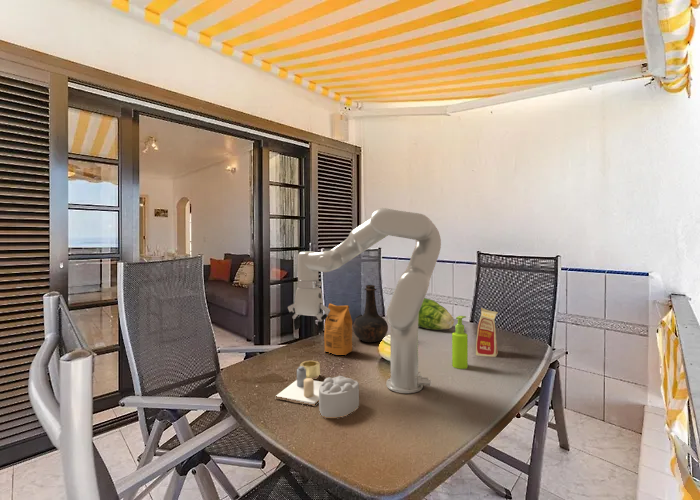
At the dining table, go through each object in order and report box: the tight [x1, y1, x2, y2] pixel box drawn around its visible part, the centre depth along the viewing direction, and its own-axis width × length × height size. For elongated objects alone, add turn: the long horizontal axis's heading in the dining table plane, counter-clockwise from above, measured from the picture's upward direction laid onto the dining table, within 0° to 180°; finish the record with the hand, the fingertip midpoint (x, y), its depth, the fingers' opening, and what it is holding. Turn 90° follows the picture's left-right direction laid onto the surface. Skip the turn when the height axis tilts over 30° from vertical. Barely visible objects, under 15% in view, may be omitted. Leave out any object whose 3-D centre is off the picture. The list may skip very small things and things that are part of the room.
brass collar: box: [299, 359, 321, 378], centre depth 131 cm, size 7×7×5 cm
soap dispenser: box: [451, 315, 469, 370], centre depth 140 cm, size 6×7×20 cm
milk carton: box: [475, 307, 499, 358], centre depth 155 cm, size 9×9×20 cm
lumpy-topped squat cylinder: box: [318, 375, 360, 417], centre depth 107 cm, size 10×13×9 cm
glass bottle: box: [352, 284, 389, 343], centre depth 177 cm, size 18×18×28 cm
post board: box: [275, 365, 324, 404], centre depth 118 cm, size 14×15×8 cm
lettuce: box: [418, 297, 455, 331], centre depth 196 cm, size 17×23×16 cm
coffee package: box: [323, 303, 353, 356], centre depth 158 cm, size 10×12×22 cm
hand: (308, 330), depth 131 cm, fingers open, 9 cm apart
